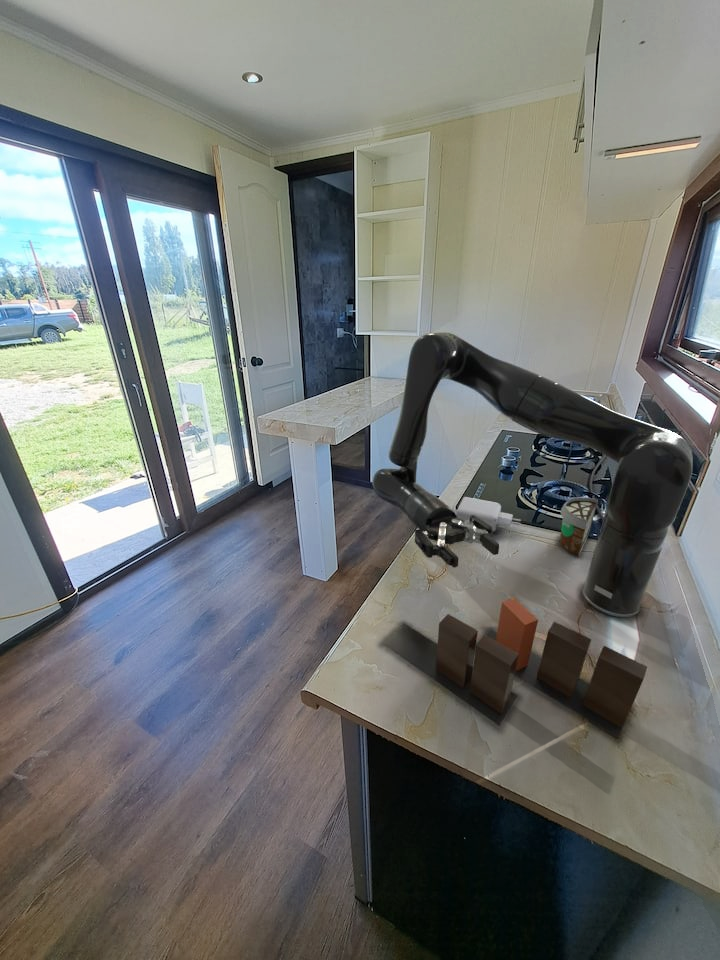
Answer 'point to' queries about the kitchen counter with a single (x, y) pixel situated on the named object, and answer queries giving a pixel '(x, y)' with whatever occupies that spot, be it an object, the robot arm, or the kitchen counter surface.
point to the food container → (576, 523)
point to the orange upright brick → (517, 630)
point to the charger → (484, 512)
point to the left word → (462, 664)
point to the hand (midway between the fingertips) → (477, 556)
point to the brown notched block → (595, 701)
